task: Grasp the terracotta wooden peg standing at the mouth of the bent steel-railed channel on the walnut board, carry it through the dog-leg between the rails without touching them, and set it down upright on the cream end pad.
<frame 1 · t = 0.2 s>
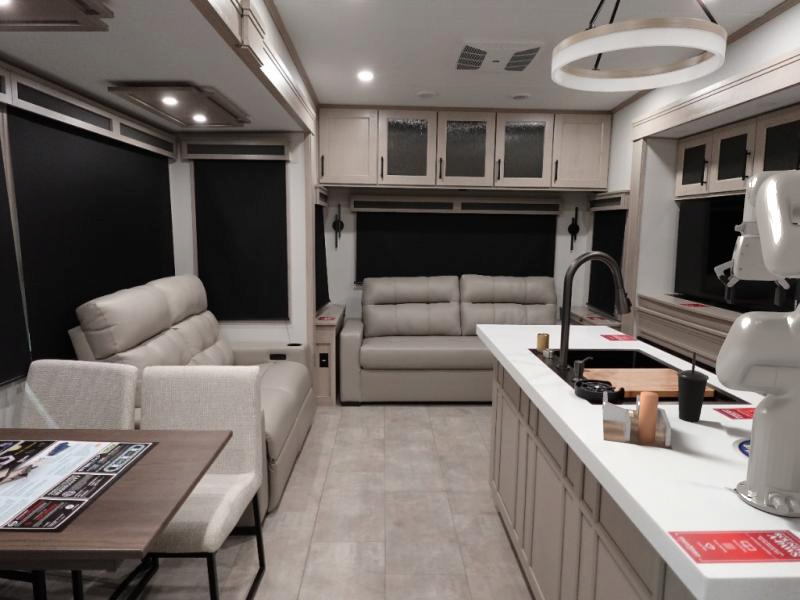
hand: (753, 304, 121), 36 cm above the worktop, tool pointing down, fingers open, 9 cm apart
channel board: (632, 429, 140), on the worktop
drinking cup: (688, 422, 145), on the worktop
peg: (646, 439, 130), point 1 cm above the worktop, touching channel board
bent rails: (633, 416, 139), on the channel board, point 4 cm above the worktop
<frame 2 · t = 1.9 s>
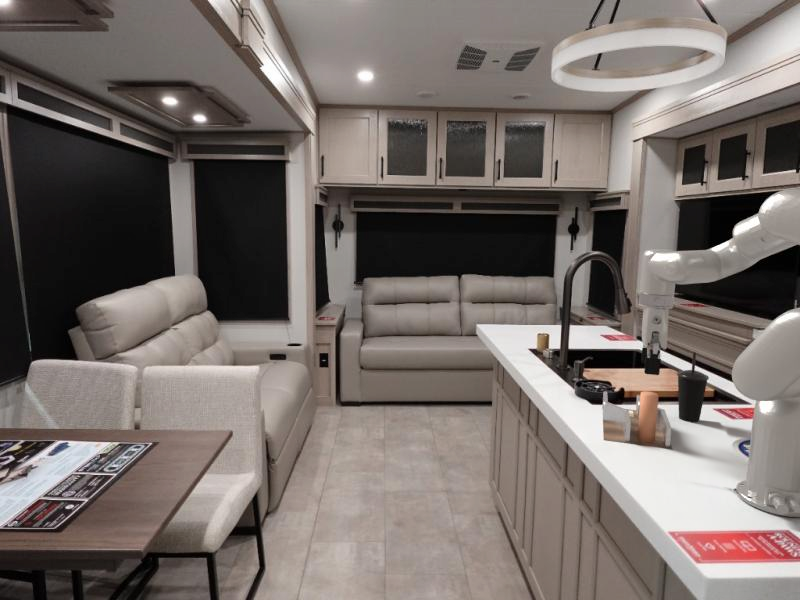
hand: (649, 368, 128), 19 cm above the worktop, tool pointing down, fingers open, 9 cm apart
nothing on the worktop moved.
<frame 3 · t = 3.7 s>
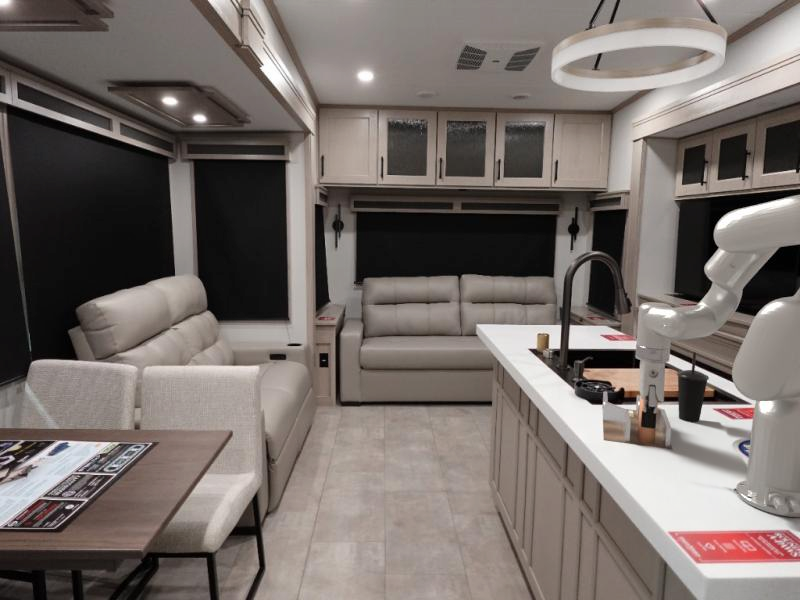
hand: (647, 423, 130), 5 cm above the worktop, tool pointing down, fingers closed on peg, 4 cm apart
peg: (646, 439, 130), point 1 cm above the worktop, touching channel board, gripper
everything else where it was.
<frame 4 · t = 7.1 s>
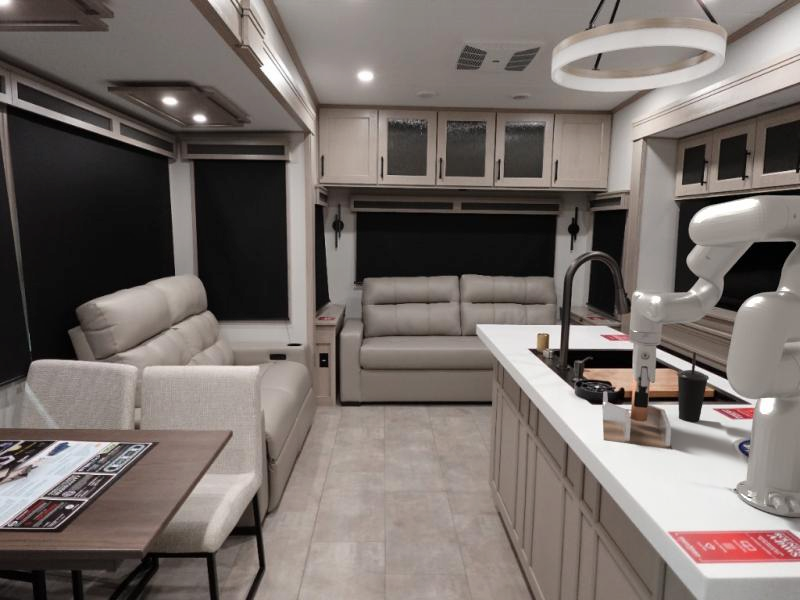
hand: (639, 403, 138), 7 cm above the worktop, tool pointing down, fingers closed on peg, 4 cm apart
peg: (638, 418, 139), point 3 cm above the worktop, touching gripper
everything else where it was.
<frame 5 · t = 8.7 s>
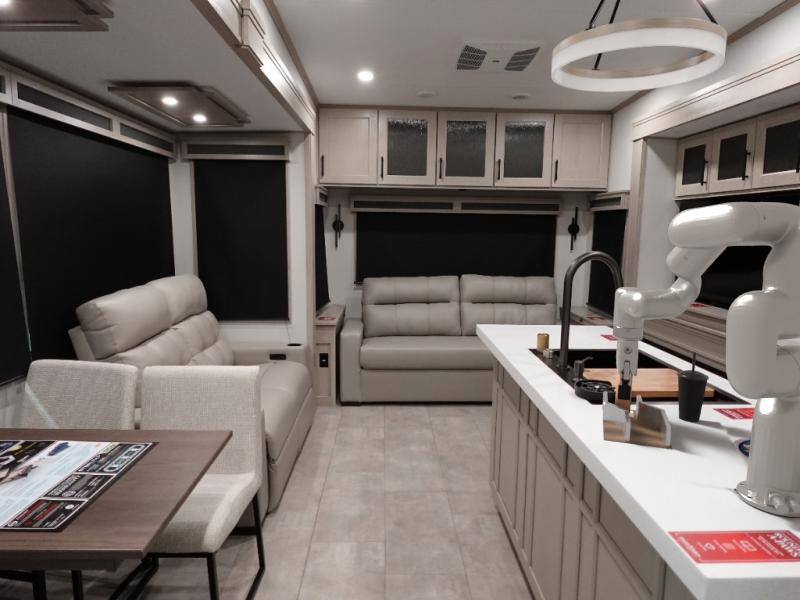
hand: (623, 396, 144), 7 cm above the worktop, tool pointing down, fingers closed on peg, 4 cm apart
peg: (622, 411, 145), point 3 cm above the worktop, touching gripper
everything else where it was.
when the fingers open (6 cm above the worktop, at t = 10.3 s): peg stays where it is, resting on channel board.
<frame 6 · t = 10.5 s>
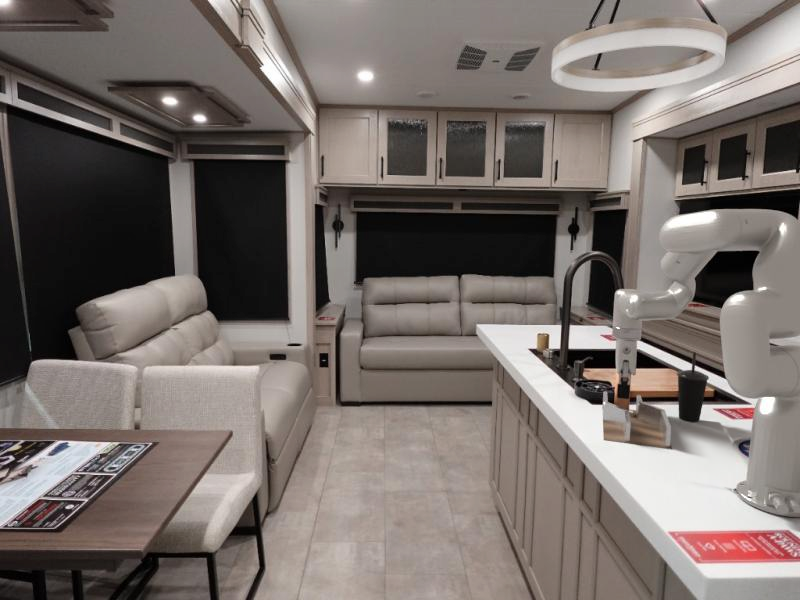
hand: (622, 393, 148), 7 cm above the worktop, tool pointing down, fingers open, 6 cm apart
peg: (621, 412, 149), point 1 cm above the worktop, touching channel board
everything else where it was.
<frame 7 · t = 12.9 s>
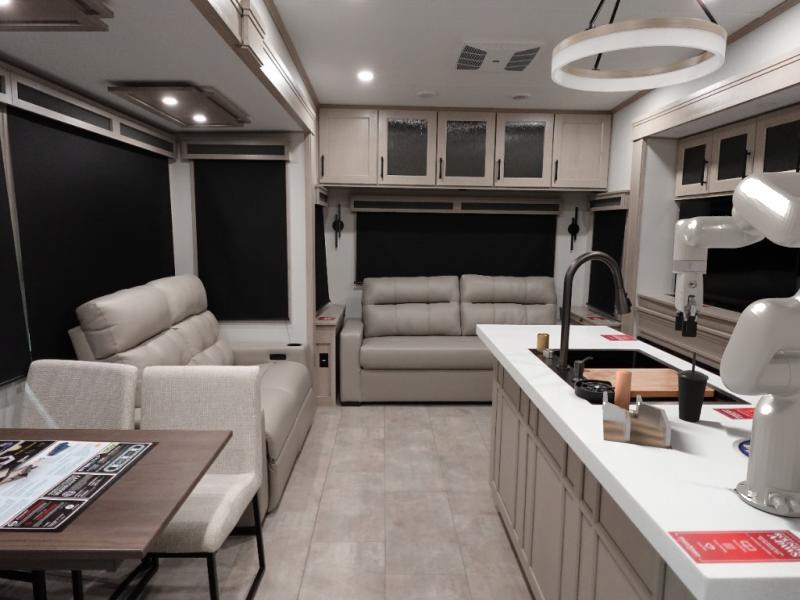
hand: (685, 333, 134), 27 cm above the worktop, tool pointing down, fingers open, 9 cm apart
nothing on the worktop moved.
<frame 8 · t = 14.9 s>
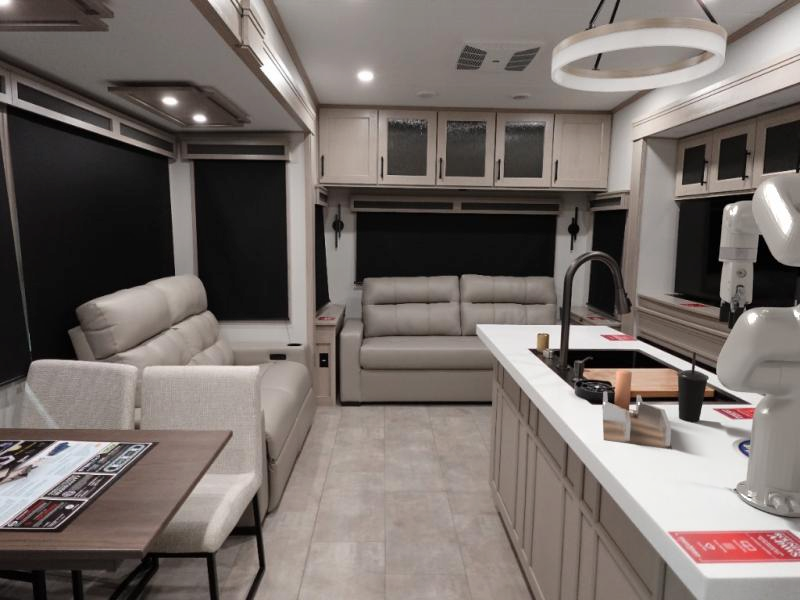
hand: (730, 325, 126), 30 cm above the worktop, tool pointing down, fingers open, 9 cm apart
nothing on the worktop moved.
at the end: peg 0.1 cm from the target spot on the channel board, point 1.1 cm above the channel board's base; peg tilted 0°; peg touching channel board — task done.
